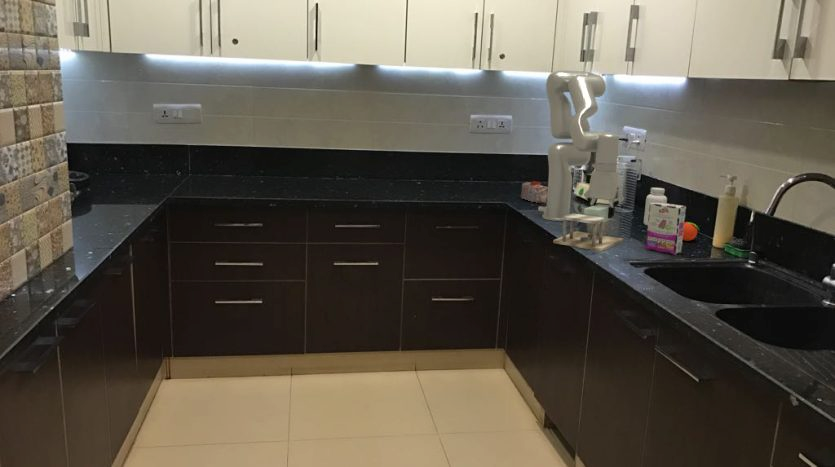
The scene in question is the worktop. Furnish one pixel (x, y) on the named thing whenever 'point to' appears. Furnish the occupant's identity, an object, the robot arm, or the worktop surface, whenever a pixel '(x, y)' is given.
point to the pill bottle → (654, 200)
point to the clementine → (689, 231)
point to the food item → (534, 192)
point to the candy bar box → (665, 228)
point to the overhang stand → (586, 234)
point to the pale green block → (598, 211)
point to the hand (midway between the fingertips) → (602, 216)
